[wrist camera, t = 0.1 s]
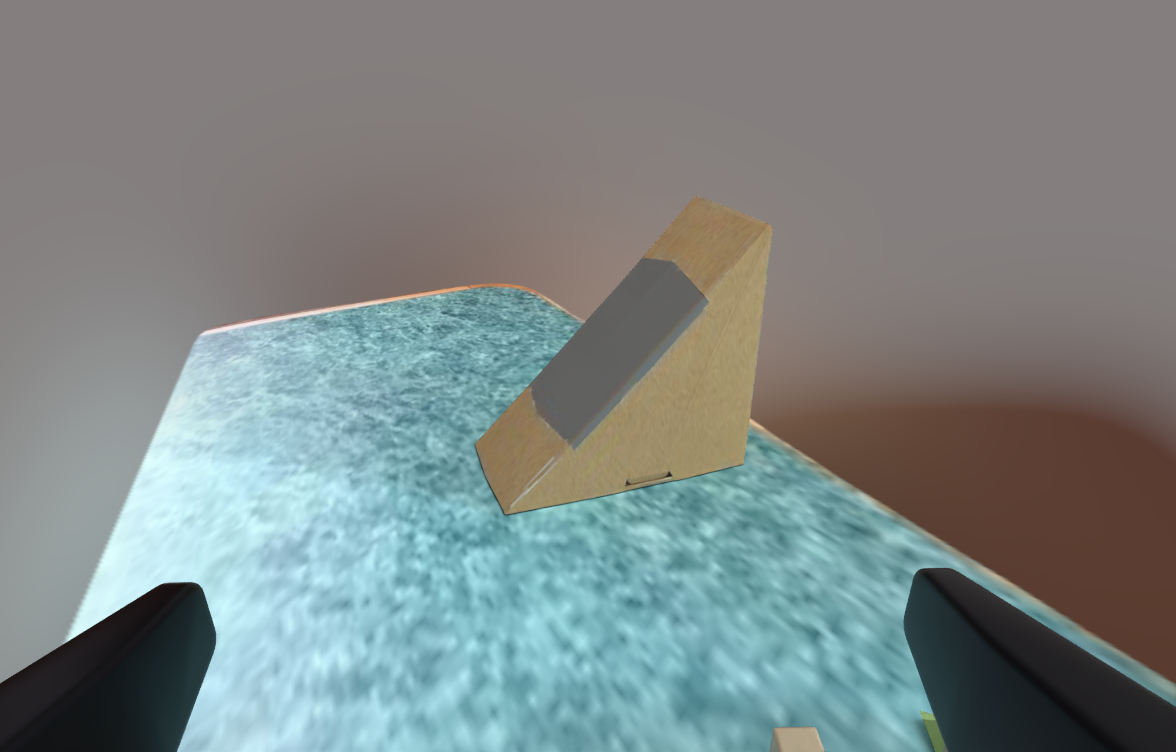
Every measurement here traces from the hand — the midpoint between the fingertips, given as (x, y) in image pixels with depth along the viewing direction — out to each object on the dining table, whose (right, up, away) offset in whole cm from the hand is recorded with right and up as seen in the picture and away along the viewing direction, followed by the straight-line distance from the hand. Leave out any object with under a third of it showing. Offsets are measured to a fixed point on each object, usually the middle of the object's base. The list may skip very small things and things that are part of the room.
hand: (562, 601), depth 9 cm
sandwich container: (+1, -2, +35) cm, 35 cm away
